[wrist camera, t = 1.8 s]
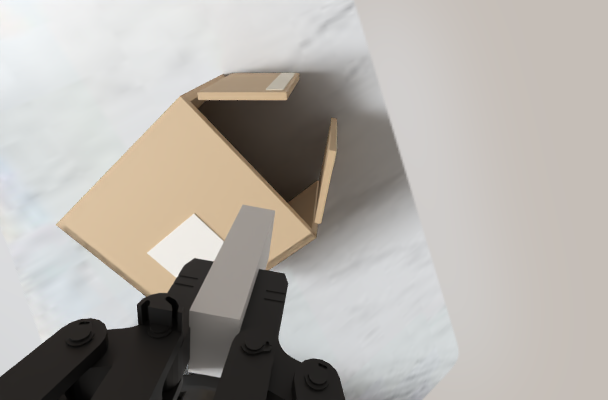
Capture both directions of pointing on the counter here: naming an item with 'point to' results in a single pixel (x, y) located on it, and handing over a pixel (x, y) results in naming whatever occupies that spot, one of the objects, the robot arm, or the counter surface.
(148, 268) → the carton
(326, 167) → the flap far
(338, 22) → the counter surface
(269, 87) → the flap near
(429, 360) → the counter surface
